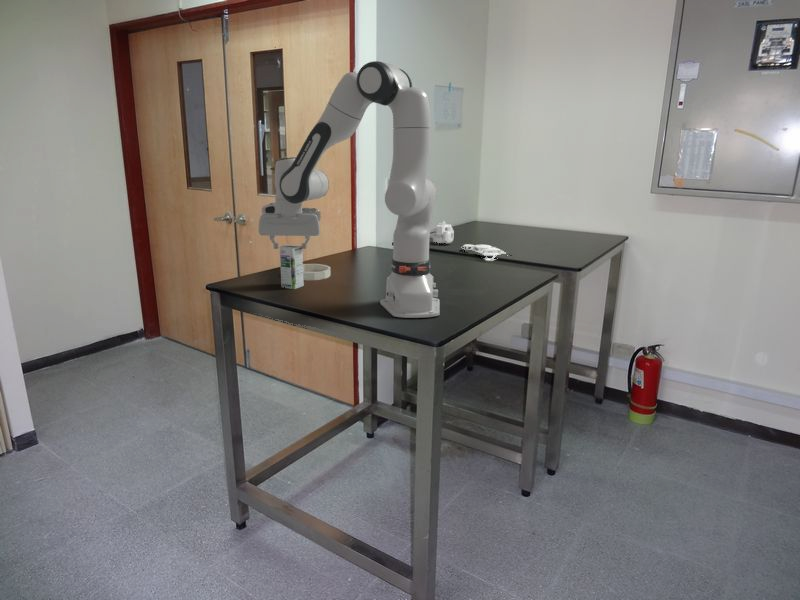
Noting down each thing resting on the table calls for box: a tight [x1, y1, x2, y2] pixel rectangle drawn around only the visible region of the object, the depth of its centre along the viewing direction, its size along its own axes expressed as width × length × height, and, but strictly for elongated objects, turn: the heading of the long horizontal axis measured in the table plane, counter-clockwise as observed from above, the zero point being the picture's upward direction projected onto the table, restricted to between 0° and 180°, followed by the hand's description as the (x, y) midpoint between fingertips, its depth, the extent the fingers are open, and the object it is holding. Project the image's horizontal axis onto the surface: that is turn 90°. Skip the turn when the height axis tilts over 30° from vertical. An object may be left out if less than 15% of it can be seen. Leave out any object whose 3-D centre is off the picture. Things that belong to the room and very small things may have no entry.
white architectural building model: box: [460, 243, 507, 262], centre depth 248 cm, size 23×25×4 cm
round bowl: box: [303, 263, 332, 281], centre depth 203 cm, size 16×16×3 cm
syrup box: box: [278, 244, 305, 290], centre depth 186 cm, size 6×6×14 cm
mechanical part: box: [429, 220, 455, 244], centre depth 270 cm, size 11×12×12 cm
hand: (290, 248), depth 184 cm, fingers open, 8 cm apart
